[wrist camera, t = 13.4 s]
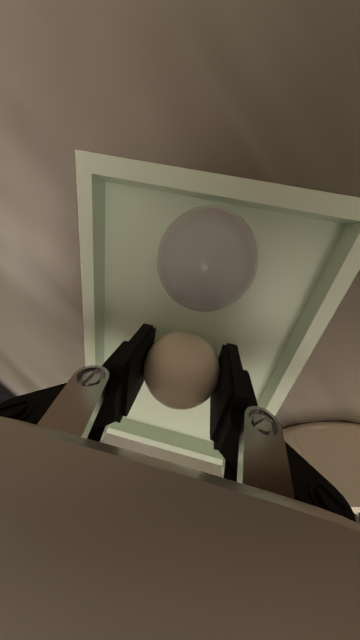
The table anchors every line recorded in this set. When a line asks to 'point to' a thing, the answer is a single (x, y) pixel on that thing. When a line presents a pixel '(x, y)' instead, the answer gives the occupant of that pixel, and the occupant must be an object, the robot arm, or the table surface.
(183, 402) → the pebble
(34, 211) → the table surface
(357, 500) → the bowl
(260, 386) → the tray
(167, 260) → the pebble
